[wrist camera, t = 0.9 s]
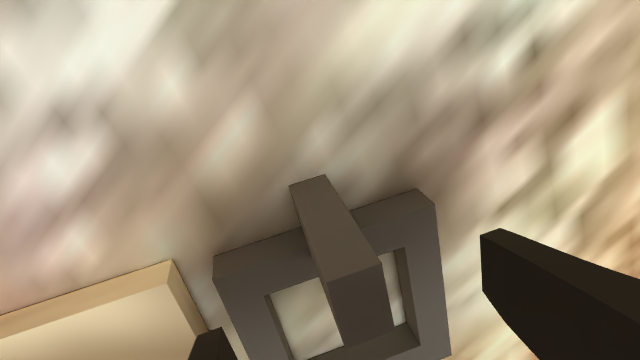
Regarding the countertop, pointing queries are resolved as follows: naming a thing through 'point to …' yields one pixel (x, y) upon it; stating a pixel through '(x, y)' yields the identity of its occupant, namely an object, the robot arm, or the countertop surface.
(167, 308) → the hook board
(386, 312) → the dark grey frame stand
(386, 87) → the countertop surface
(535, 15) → the countertop surface
